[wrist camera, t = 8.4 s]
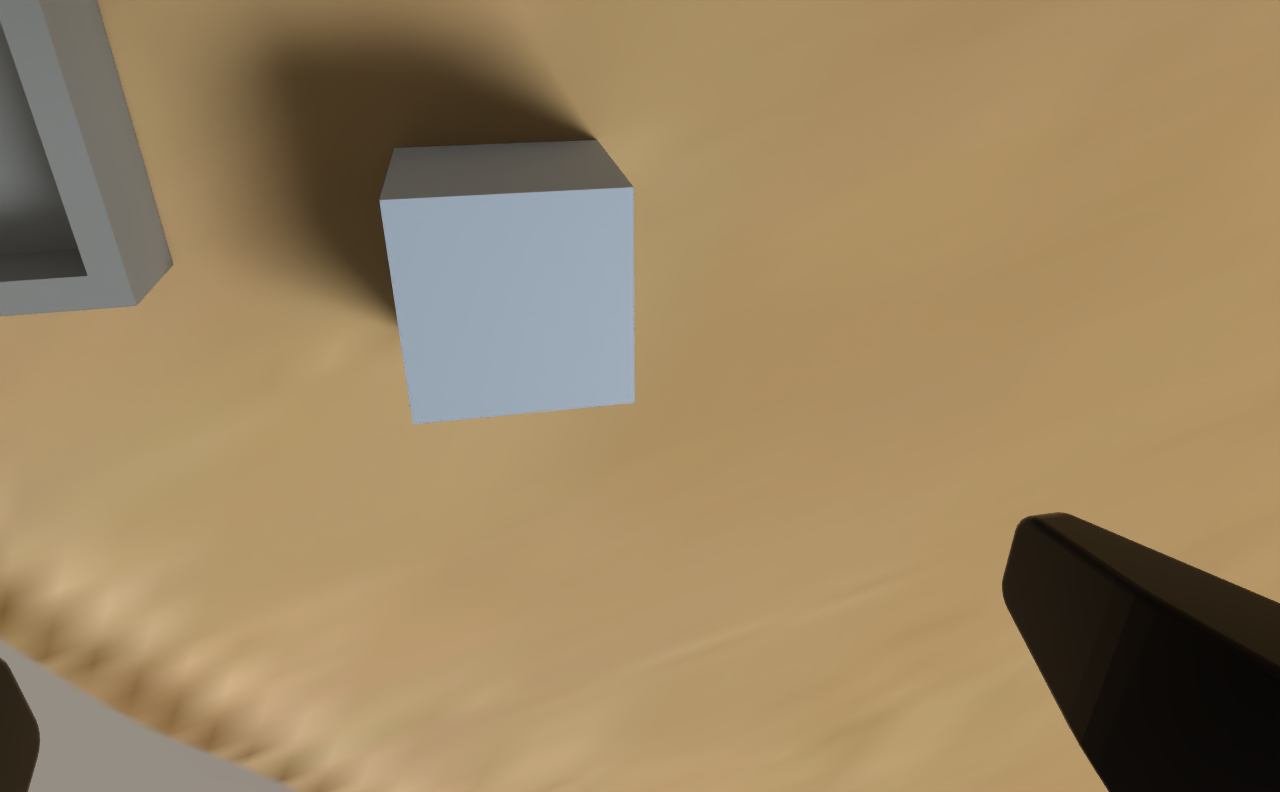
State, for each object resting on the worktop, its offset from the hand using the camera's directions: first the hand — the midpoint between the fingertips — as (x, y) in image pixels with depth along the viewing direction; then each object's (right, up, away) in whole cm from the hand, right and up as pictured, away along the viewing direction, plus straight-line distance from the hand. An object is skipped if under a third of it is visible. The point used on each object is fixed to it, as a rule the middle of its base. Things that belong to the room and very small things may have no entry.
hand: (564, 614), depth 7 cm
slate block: (-2, +5, +10) cm, 12 cm away
